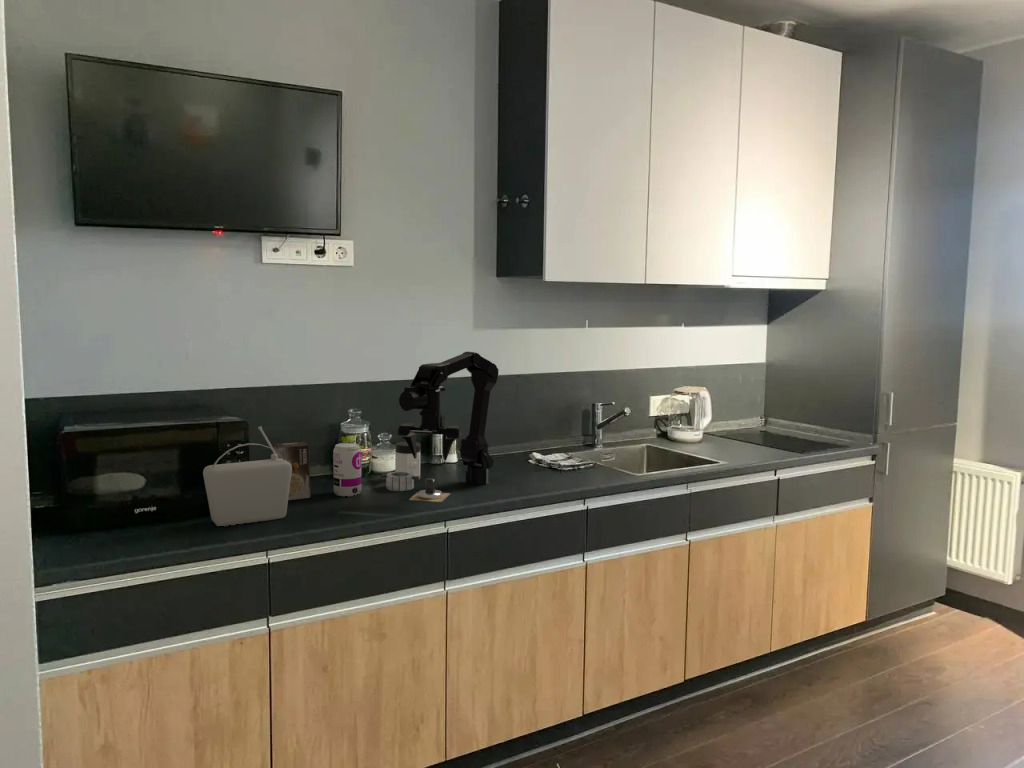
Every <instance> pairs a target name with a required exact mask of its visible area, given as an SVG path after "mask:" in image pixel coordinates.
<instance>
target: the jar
mask: <svg viewBox="0 0 1024 768" xmlns="http://www.w3.org/2000/svg"><path fill="white" fill-rule="evenodd" d="M416 449H417V458H416V459H414V457H413V454H412V452H411V450H410V447H409V445H408V444H407V442H406V440H405V441H399V442H396V443H395V455H394V457H395V458H394V459H395V461H394V463H395V464H394V465H395V466H394V467H395V469H394V470H395V471H394V472H396V471H405V472H411V473H413V474H414V476H420V477H421V449H422V447H421V443H420V442H419V441H416Z"/></svg>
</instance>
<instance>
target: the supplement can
mask: <svg viewBox="0 0 1024 768" xmlns="http://www.w3.org/2000/svg"><path fill="white" fill-rule="evenodd" d="M332 452H333V453H332V454H333V455H332V458H333V464H332V465H333V466H332V468H333V470H332V471H333V493H334V494H335V495H336V496H338V497H345V496H347V497H355V496H358V495H360V493H361V492H362V448H361V447H360V444H359V443H355V442H341V443H337V444H335V445H334V448H333V450H332ZM357 494H358V495H357ZM354 495H355V496H354Z"/></svg>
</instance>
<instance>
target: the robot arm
mask: <svg viewBox="0 0 1024 768" xmlns="http://www.w3.org/2000/svg"><path fill="white" fill-rule="evenodd" d="M465 369H466V370H467V371H468V372H469V373H470V380H471V384H472V386H473V389H474V393H473V400H472V407H471V415H470V423H469V430H468V435H467V436H466V437H465V438H462V439H461V441H460V449H459V452H460V454H459V455H460V458H461V461H462V464H463V466H465V467H467V470H465V484H469V485H471V486H473V485H474V486H483V485H484V486H486V485H487V484H490V481H489V469H491V468H493V466H494V462H495V461H494V459H493V458H492V456H491V455H490V454H489V445H488V442H487V439H486V436H485V433H486V427H487V420H488V419H487V418H488V411H489V403H490V396H491V391H492V390H493V388H494V387H495V386H496V384H497V382H498V381H497V380H498V376H499V368H498V366H497V365H496V364H495V363H494V362H492V361H490V360H488V359H486V358H485V357H482V356H481V354H480V353H478V352H476V351H465V352H462V353H461V354H458V355H456V356H454V357H451V358H449V359H446V360H444V361H441V362H434V363H433V362H431V363H423V364H421V365H420V366H419V367H418V370H417V371H416V374H415V376H414V378H413V380H412V382H411V383H410V386H405V387H404V389H403V392H401V393H400V396H399V398H398V404H399V406H400V408H401V409H402V410H403V411H405V412H409V411H417V410H420V411H419V416H420V425H419V426H416V423H407V422H406V423H402V424H400V425H398V427H397V431H396V432H397V436H401V438H402V439H404V440H405V441H406V442H407V444H408V445H409V447H410V450H411V452H412V454H413V457H414V459H416V458H417V449H416V442H417V434H430V435H445V436H446V437H445V438H444V446H443V447H444V448H443V459H444V461H447V459H448V456H449V453H450V451H451V448H452V445H453V443H454V442H455V441H456V440H458V439H460V438H461V437H462V436H464V428H463V426H462V425H449V426H447V427H445V426H446V425H445V424H446V417H445V416H444V415H443V414H442V410H441V392H445V391H446V388H445V387H444V386H443V385H442V384H443V383H445V381H447V380H448V378H449V376H450V375H453V374H456V373H458V372H460V371H464V370H465Z"/></svg>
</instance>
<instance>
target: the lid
mask: <svg viewBox="0 0 1024 768" xmlns="http://www.w3.org/2000/svg"><path fill="white" fill-rule="evenodd" d="M424 482H425V486H424V488H425V489H421V490H419V491H417V492H418V497H419V498H421V499H428V500H432V499H439V498H441V497H442V493H443V492H442V491H441V490H439V489H436V479H435V478H432V477H431V478H430V477H429V478H425V481H424Z"/></svg>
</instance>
